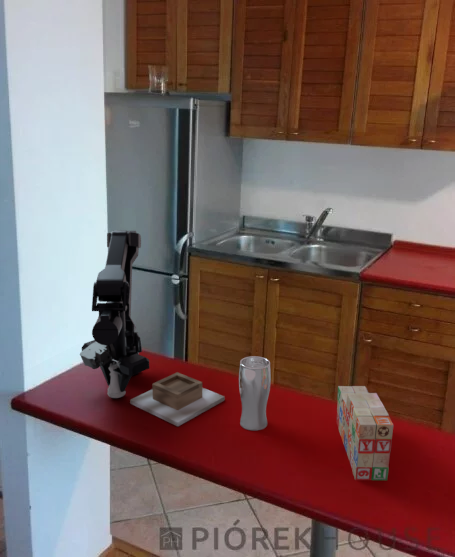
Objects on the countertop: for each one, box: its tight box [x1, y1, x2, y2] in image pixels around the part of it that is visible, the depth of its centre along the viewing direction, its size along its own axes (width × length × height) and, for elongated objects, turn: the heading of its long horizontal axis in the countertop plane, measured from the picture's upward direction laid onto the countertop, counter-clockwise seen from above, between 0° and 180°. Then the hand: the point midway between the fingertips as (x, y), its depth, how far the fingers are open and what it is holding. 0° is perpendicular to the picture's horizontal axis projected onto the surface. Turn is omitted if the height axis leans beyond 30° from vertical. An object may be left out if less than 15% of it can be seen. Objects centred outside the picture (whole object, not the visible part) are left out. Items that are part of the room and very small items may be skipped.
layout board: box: [129, 371, 226, 427], centre depth 137 cm, size 16×16×5 cm
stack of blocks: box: [336, 385, 394, 481], centre depth 118 cm, size 21×6×12 cm, turn 0°
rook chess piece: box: [107, 362, 127, 399], centre depth 139 cm, size 4×4×8 cm
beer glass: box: [238, 355, 272, 432], centre depth 127 cm, size 7×7×15 cm
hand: (116, 388), depth 140 cm, fingers closed on rook chess piece, 4 cm apart
